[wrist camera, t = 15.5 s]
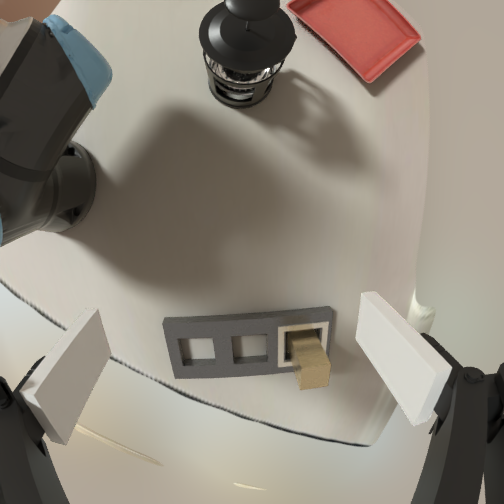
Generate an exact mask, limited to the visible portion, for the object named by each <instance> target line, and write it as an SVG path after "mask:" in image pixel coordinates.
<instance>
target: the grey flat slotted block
mask: <svg viewBox="0 0 504 504" xmlns="http://www.w3.org/2000/svg"><path fill="white" fill-rule="evenodd" d="M332 317H333V311H332V309H331V308H330V306H326V307H316V308H307V309H297V310H286V311H274V312H262V313H248V314H233V315H216V316H195V317H165V318H164V320H163V323H162V324H163V329H164V334H165V338H166V343H167V347H168V352H169V356H170V360H171V364H172V369H173V373H174V376H175V379H192V378H224V377H242V376H255V375H267V374H277V373H286V372H294V369H293V366H292V363H291V359H290V356H289V353H285V341H286V332H291V331H300V330H309V329H317V333H316V335H317V337H318V339H319V341H320V343H321V345H322V347H323V349H324V351H325V353H326V355H327V357H328V354H329V346H330V337H331V327H332ZM258 334H266V341H267V355H263V356H251V357H236V358H233V348H232V337H231V336H244V335H258ZM209 337H213V343H214V351H215V358H216V359H186V360H184V356H183V351H182V347H181V341H180V338H209Z"/></svg>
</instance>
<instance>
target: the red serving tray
mask: <svg viewBox="0 0 504 504" xmlns="http://www.w3.org/2000/svg"><path fill="white" fill-rule="evenodd" d="M286 7H287V9H288V10H289V11H290V12H292V13H293V14H294V15H295V16H297V17H298V18H299V19H300V20H301V21H303V22H304V23H305V24H306V25H307V26H308V27H310V28H311V29H312V30H313V31H314V32H315V33H316V34H318V35H319V36H320V37H321V38H322V39H323V40H324V41H325V42H326V43H327V44H328V45H329V46H331V47H332V48H333V49H334V50H335V51H336V52H337V53H338V54H339V55H340V56H341V57H342V58H343V59H344V60H345V61H346V62H347V63H348V64H349V65H350V66H351V67H352V69H353V70H354V71H355V72H356V73H357V74H358V75H359V76H360V77H361V78H362V79H363V80H364V81H365V82H367V83H372V82H373V81H374V80H375V79H376V78H377V77H379V76H380V75H381V74H382V73H383V72H384V71H385V70H386V69H387V68H389V67H390V66H391V65H392V64H393V63H394V62H395V61H397V60H398V59H399V58H400V57H401V56H403V55H404V54H405V53H406V52H407V51H408V50H409V49H411V48H412V47H413V46H414V45H415V44H416V43H418V42H419V41H420V40H421V36H420V34H419V33H418V32H417V31H416V30H415V28H414V27H413V26H412V25H411V24H410V23H409V22H408V21H407V20H406V18H405V17H404V16H403V15H402V14H401V13H400V12H399V11H398V10H397V9H396V8H395V7H394V6H393V5H392V4H391V3H390V2H389V1H388V0H292V1H290V2H289V3H287V4H286Z"/></svg>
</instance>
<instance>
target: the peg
mask: <svg viewBox="0 0 504 504" xmlns="http://www.w3.org/2000/svg"><path fill="white" fill-rule="evenodd" d="M287 350H288V353H289V356H290V359H291V363H292V366H293V369H294V372H295V375H296V379H297V382H298V385H299V388H300V390H305V389H312V388H318V387H324V386H328V382H329V376H330V369H331V363H330V361H329V359H328V357H327V355H326V353H325V351H324V349H323V347H322V345H321V343H320V341H319V339H318V337H317V335H316V333H315V331H314V329H309V330H300V331H291V332H288V349H287Z"/></svg>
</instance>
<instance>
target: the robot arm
mask: <svg viewBox="0 0 504 504" xmlns="http://www.w3.org/2000/svg"><path fill="white" fill-rule="evenodd" d="M111 80H112V69H111V67H110V65H109V63H108V62H107V60H106V59H105V58H104V57H103V56H102V54H101V53H100V52H99V51H98V50H97V49H96V48H95V47H94V46H93V45H92V44H91V43H90V42H89V41H88V40H87V39H86V38H85V37H84V36H83V35H82V34H81V33H80V32H78V31H77V30H76V29H73V27H72V26H71V25H69V24H68V22H67V21H65V20H64V19H63V18H61V17H60V16H58V15H50V16H49V17H48V18H45V19H44V20H43V23H40V22H39V21H37V20H35V19H34V18H32V17H28V18H25V19H22V20H19V21H16V22H11V23H8V22H6V21H5V20H3V19H1V18H0V247H2V246H4V245H6V244H8V243H10V242H12V241H14V240H16V239H18V238H20V237H22V236H25V235H27V234H29V233H32V232H34V231H36V230H40V231H47V232H61V231H64V230H67V229H69V228H71V227H73V226H75V225H77V224H78V223H79V222H80V221H81V220H82V219H83V218H84V217H85V216H86V214H87V213H88V211H89V209H90V207H91V205H92V202H93V199H94V195H95V189H96V176H95V170H94V166H93V163H92V161H91V158H90V156H89V155H88V153H87V152H86V150H85V149H84V148H83V147H82V146H81V145H79V144H78V143H76V142H74V141H72V138H73V137H74V135H75V133H76V132H77V130H78V129H79V127H80V126H81V124H82V123H83V122H84V120H85V119H86V117H87V116H88V114H89V113H90V112H91V110H94V108H95V107H96V103H97V101H98V100H99V98H100V97H101V95H102V94H103V93H104V91H105V90H106V89H107V87H108V86H109V84H110V82H111ZM355 339H356V341H357V342H358V344H359V345H360V346H361V348H362V349H363V351H364V352H365V354H366V355H367V357H368V358H369V360H370V361H371V363H372V364H373V366H374V367H375V369H376V370H377V372H378V373H379V375H380V376H381V378H382V379H383V381H384V382H385V384H386V385H387V387H388V388H389V390H390V391H391V393H392V394H393V396H394V398H395V399H396V401H397V402H398V404H399V405H400V407H401V408H402V410H403V412H404V413H405V414H406V416H407V418H408V419H409V421H410V422H411V424H412V425H413V426H416V425H418V424H421V423H424V422H426V421H428V420H429V418H430V417H431V415H432V413H433V411H435V412H436V414H437V415H438V417H437V419H436V421H435V423H434V424H433V426H432V428H431V430H430V432H429V434H431V433H432V431H433V433H432V438H431V442H430V445H429V449H428V453H427V456H426V460H425V463H424V467H423V470H422V473H421V476H420V479H419V482H418V485H417V488H416V491H415V493H414V496H413V499H412V501H411V504H478V500H479V494H480V489H481V484H482V477H483V472H484V482H485V498H486V504H504V363H502V364H501V365H500V367H499V369H498V371H497V373H495V374H488V375H485V374H484V373H483V372H482V371H481V370H479V369H478V368H474V367H464V368H463V367H462V366H461V365H460V364H459V363H458V362H457V361H456V360H455V359H454V358H453V357H452V356H451V355H450V354H449V353H448V352H447V351H445V349H444V348H443V347H442V346H441V345H440V344H439V343H438V342H437V341H436V340H435V339H434V338H433V337H431V336H429V335H427V334H425V333H421V334H419V333H418V332H417V331H416V330H415V329H414V328H413V327H412V326H411V325H410V324H409V323H408V322H407V321H406V320H405V319H404V318H403V317H402V316H401V315H400V314H399V313H397V312H396V311H395V310H394V309H393V308H392V307H391V306H390V305H389V304H388V303H387V302H386V301H385V300H384V299H383V298H382V297H381V296H380V295H378V294H377V293H376V292H375V291H371V292H363V293H361V301H360V310H359V317H358V324H357V331H356V338H355ZM111 354H112V353H111V350H110V347H109V344H108V341H107V338H106V334H105V331H104V328H103V324H102V321H101V317H100V314H99V310H98V309H85V310H84V311H83V312H82V313H81V314H80V316H79V317H78V318H77V319H76V320H75V321H74V323H73V324H72V325H71V326H70V327H69V328H68V330H67V331H66V332H65V333H64V335H63V336H62V337H61V338H60V339H59V341H58V342H57V343H56V344H55V345H54V347H53V348H52V349H51V350H50V352H49V353H48V354H47V355H46V356H44V357H42V358H41V359H39V360H38V361H37V362H36V363H35V364H34V365H33V366H32V368H31V370H29V371H28V373H27V375H26V376H25V377H24V378H23V379H22V381H21V382H20V383H19V385H18V386H17V387H16V389H15V390H14V391H13V393H12V391H11V389H10V387H9V386H8V384H7V382H6V380H5V379H4V378H3V377H1V376H0V504H70V503H69V501H68V499H67V497H66V495H65V492H64V490H63V488H62V486H61V483H60V481H59V478H58V476H57V474H56V471H55V468H54V466H53V463H52V460H51V458H50V455H49V452H48V449H47V446H46V443H45V442H44V440H43V439H42V437H43V435H44V433H46V434H47V436H48V437H49V438H50V440H51V441H52V442H56V443H59V444H63V445H67V442H68V440H69V438H70V436H71V433H72V431H73V429H74V427H75V425H76V423H77V421H78V418H79V416H80V414H81V412H82V410H83V408H84V406H85V404H86V402H87V400H88V398H89V396H90V394H91V391H92V390H93V388H94V386H95V384H96V382H97V380H98V378H99V376H100V374H101V372H102V370H103V369H104V367H105V365H106V363H107V361H108V359H109V357H110V355H111Z"/></svg>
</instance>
